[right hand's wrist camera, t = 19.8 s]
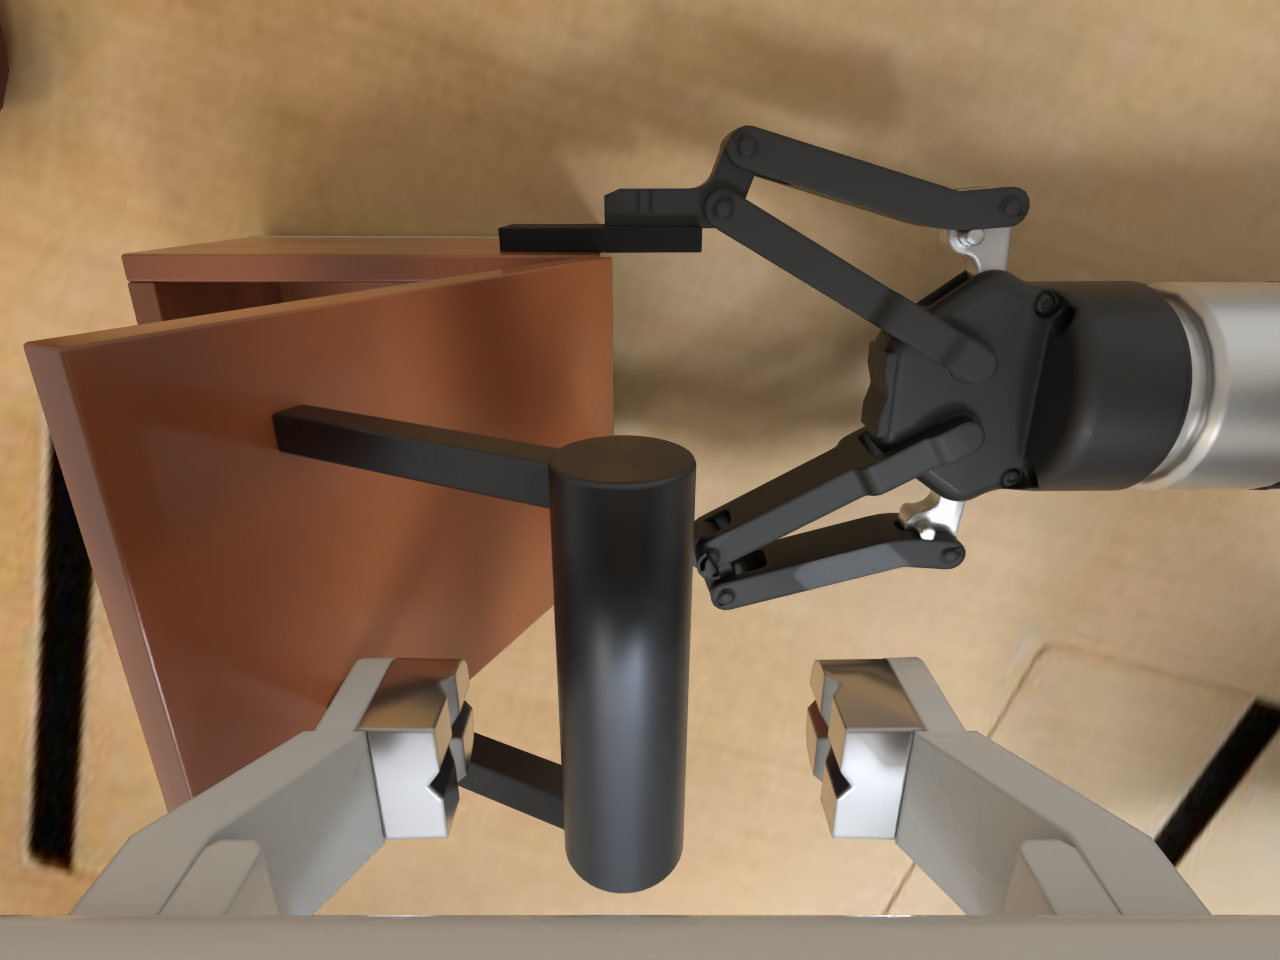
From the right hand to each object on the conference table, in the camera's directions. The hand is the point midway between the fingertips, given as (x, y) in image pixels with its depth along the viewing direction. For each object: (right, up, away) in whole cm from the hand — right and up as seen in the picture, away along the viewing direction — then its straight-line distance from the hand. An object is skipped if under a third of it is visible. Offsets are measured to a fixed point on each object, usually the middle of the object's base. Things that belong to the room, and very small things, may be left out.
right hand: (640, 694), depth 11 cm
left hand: (-4, +6, +16) cm, 18 cm away
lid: (-5, +3, +7) cm, 9 cm away
